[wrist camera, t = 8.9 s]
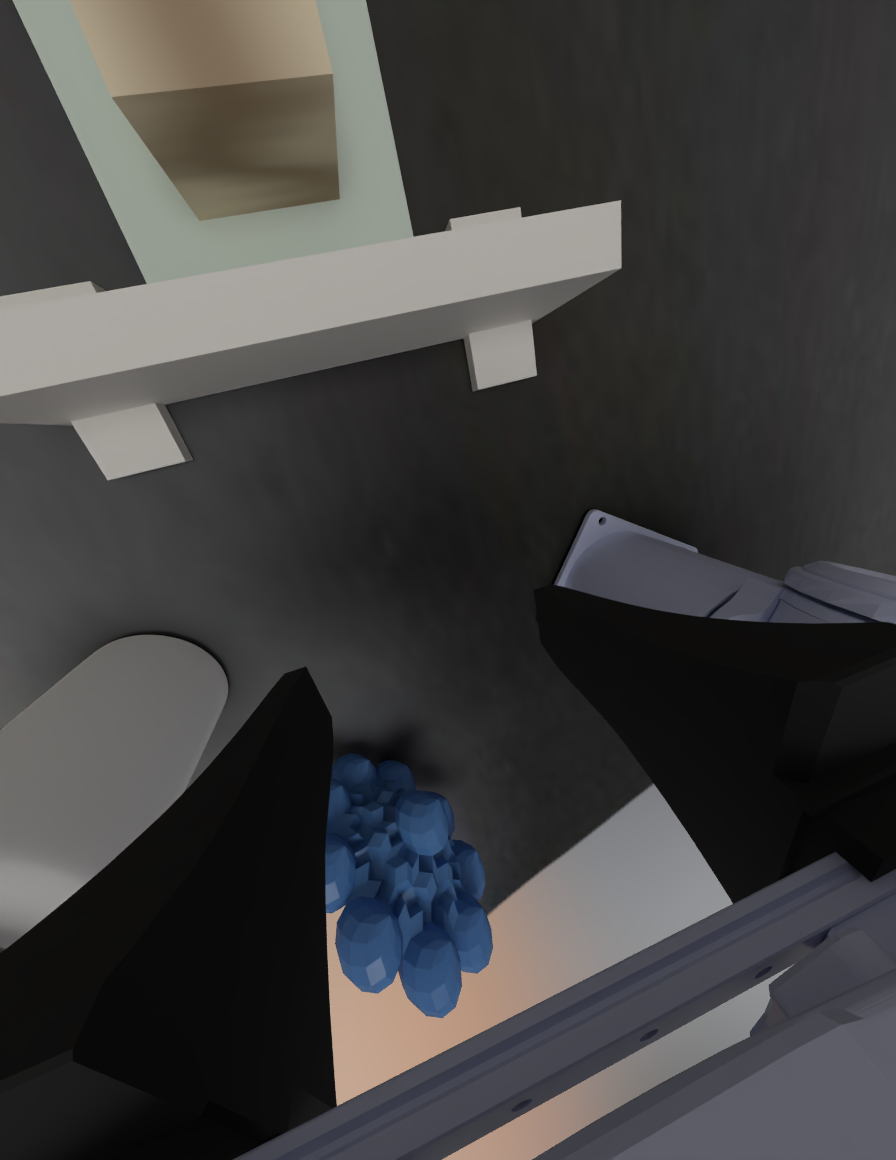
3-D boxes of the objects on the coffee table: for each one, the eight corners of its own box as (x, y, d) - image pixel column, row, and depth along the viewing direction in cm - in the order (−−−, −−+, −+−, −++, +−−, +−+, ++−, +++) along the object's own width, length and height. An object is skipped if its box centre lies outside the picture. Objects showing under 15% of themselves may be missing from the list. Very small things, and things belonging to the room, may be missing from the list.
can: (91, 730, 18) (-273, 1140, 8) (78, 623, 16) (-440, 980, 6) (229, 730, 20) (93, 1054, 10) (233, 635, 18) (67, 913, 8)
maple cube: (280, -29, 11) (227, -364, 6) (339, 199, 13) (332, 73, 8) (105, -17, 10) (-96, -383, 6) (199, 220, 12) (111, 97, 8)
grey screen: (522, 216, 15) (620, 90, 9) (538, 375, 17) (621, 348, 12) (-3, 308, 12) (-287, 207, 7) (107, 481, 15) (-35, 507, 9)
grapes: (484, 740, 26) (576, 952, 15) (436, 802, 27) (490, 1039, 17) (342, 691, 21) (331, 949, 11) (291, 769, 23) (236, 1070, 12)
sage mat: (329, -161, 10) (329, -183, 10) (417, 266, 15) (418, 262, 14) (-56, -155, 9) (-72, -179, 9) (164, 314, 13) (159, 310, 13)
